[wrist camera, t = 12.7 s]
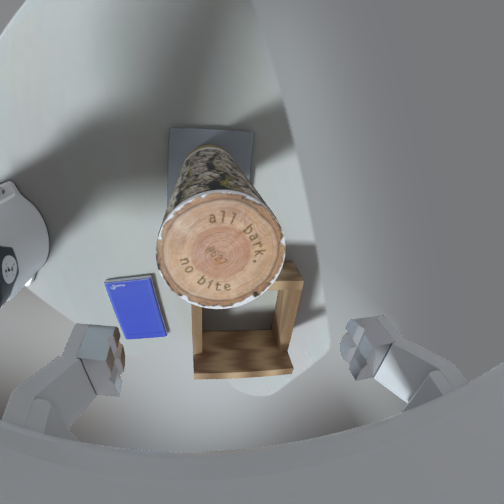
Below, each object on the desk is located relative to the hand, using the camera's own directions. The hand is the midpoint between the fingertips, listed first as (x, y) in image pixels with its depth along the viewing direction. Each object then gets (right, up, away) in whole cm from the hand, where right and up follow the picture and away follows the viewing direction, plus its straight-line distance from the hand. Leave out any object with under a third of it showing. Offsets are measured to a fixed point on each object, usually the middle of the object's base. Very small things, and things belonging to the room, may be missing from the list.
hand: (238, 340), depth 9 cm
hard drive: (-19, -6, +37) cm, 42 cm away
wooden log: (-5, +14, +28) cm, 31 cm away
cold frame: (-2, -6, +39) cm, 39 cm away
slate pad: (-5, +14, +28) cm, 32 cm away
